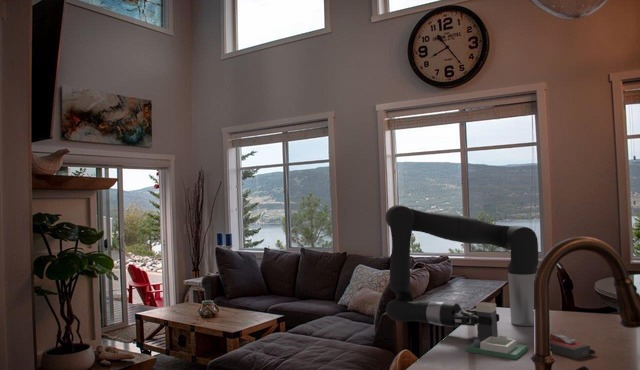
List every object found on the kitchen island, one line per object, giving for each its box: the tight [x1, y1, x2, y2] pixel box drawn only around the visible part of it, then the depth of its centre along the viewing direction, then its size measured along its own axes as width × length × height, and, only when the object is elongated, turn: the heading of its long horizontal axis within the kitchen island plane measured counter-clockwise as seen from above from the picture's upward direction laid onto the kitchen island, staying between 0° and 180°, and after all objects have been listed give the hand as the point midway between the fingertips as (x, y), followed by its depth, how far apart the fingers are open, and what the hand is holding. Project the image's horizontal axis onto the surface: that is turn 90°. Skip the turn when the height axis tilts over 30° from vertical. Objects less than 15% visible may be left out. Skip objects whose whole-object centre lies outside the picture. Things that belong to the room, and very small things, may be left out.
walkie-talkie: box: [549, 333, 596, 360], centre depth 140 cm, size 9×4×20 cm
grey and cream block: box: [475, 301, 499, 339], centre depth 151 cm, size 4×4×11 cm
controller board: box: [465, 334, 529, 360], centre depth 140 cm, size 10×14×4 cm
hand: (495, 319), depth 150 cm, fingers open, 5 cm apart
